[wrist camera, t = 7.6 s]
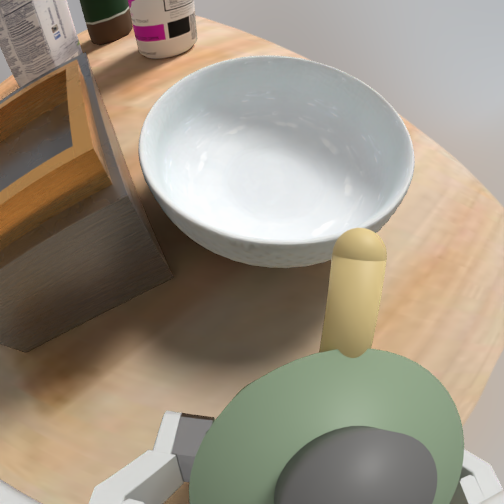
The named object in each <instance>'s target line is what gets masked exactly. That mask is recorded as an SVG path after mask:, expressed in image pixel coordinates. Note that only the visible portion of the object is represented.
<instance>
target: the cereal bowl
mask: <svg viewBox="0 0 504 504" xmlns="http://www.w3.org/2000/svg"><path fill="white" fill-rule="evenodd" d="M139 161H140V166H141V169H142V172H143V175H144V178H145V181H146V183H147V184H148V186H149V188H150V191H151V192H152V193H153V195H154V198H155V199H156V201H157V202H158V203H159V205H160V206H161V208H162V210H163V211H164V212H165V213H166V214H167V216H168V217H169V219H170V220H171V221H172V222H173V223H174V224H175V225H176V226H177V227H178V228H179V229H180V230H181V231H183V232H184V233H185V234H186V235H187V236H188V237H189V238H191V239H192V240H193V241H195V242H197V243H198V244H199V245H201V246H203V247H204V248H206V249H208V250H210V251H212V252H213V253H215V254H218V255H221V256H223V257H226V258H229V259H231V260H233V261H238V262H241V263H246V264H248V265H255V266H262V267H269V268H273V267H277V268H291V267H300V266H302V267H306V266H308V265H313V264H317V263H324V262H326V261H328V260H332V252H333V247H334V245H335V242H336V241H337V239H338V238H339V237H340V236H341V235H342V234H343V233H344V232H346V231H348V230H350V229H353V228H366V229H369V230H371V231H373V232H375V233H376V232H378V231H379V230H380V229H381V228H382V226H383V225H384V224H385V223H387V222H388V220H389V219H390V217H391V216H392V215H393V214H394V213H395V211H396V209H397V207H398V206H399V205H400V204H401V202H402V200H403V198H404V196H405V195H406V193H407V190H408V188H409V186H410V183H411V180H412V177H413V172H414V150H413V145H412V141H411V138H410V135H409V132H408V130H407V128H406V126H405V124H404V122H403V120H402V119H401V117H400V116H399V115H398V113H397V112H396V111H395V109H394V108H393V107H392V106H391V105H390V104H389V103H388V102H387V101H386V100H385V99H384V98H383V97H382V96H381V95H380V94H379V93H377V92H376V91H375V90H374V89H372V88H371V87H370V86H368V85H367V84H365V83H364V82H362V81H360V80H359V79H357V78H355V77H353V76H351V75H349V74H347V73H345V72H343V71H340V70H338V69H336V68H333V67H330V66H328V65H325V64H321V63H317V62H314V61H310V60H306V59H301V58H294V57H286V56H250V57H242V58H236V59H231V60H226V61H222V62H219V63H215V64H212V65H209V66H207V67H204V68H202V69H200V70H198V71H196V72H194V73H192V74H190V75H188V76H186V77H184V78H183V79H181V80H180V81H178V82H177V83H176V84H174V85H173V86H172V87H171V88H169V89H168V90H167V91H166V92H165V93H164V94H163V95H162V96H161V97H160V98H159V99H158V100H157V102H156V103H155V104H154V105H153V107H152V108H151V110H150V112H149V113H148V115H147V117H146V119H145V121H144V124H143V127H142V130H141V134H140V139H139Z"/></svg>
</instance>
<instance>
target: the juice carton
mask: <svg viewBox="0 0 504 504" xmlns="http://www.w3.org/2000/svg"><path fill="white" fill-rule="evenodd" d="M0 47H1V50H2V52H3V54H4V56H5V58H6V61H7V63H8V65H9V67H10V69H11V72H12V73H13V76H14V78H15V80H16V81H17V83H18V85H19V86H20V88H21V87H22V86H24V85H25V84H27V83H29V82H30V81H32V80H34V79H35V78H37V77H39V76H40V75H42V74H44V73H46V72H47V71H49V70H51V69H53V68H55V67H57V66H59V65H60V64H62V63H64V62H66V61H68V60H70V59H72V58H74V57H76V56H79V55H81V54H83V52H82V49H81V46H80V43H79V40H78V37H77V34H76V31H75V27H74V24H73V21H72V18H71V14H70V10H69V7H68V3H67V0H0Z"/></svg>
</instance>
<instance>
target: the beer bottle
mask: <svg viewBox="0 0 504 504" xmlns="http://www.w3.org/2000/svg"><path fill="white" fill-rule="evenodd" d="M80 3H81V7H82V11H83V14H84V18H85V22H86V25H87V28H88V32H89V35H90V38H91V40H92V42H93V43H95V44H99V45H101V44H105V43H109V42H113V41H116V40H118V39H120V38H122V37H124V36H126V35H128V34H129V32H130V31H131V30H132V27H133V26H132V18H131V13H130V8H129V3H128V0H80Z"/></svg>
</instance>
